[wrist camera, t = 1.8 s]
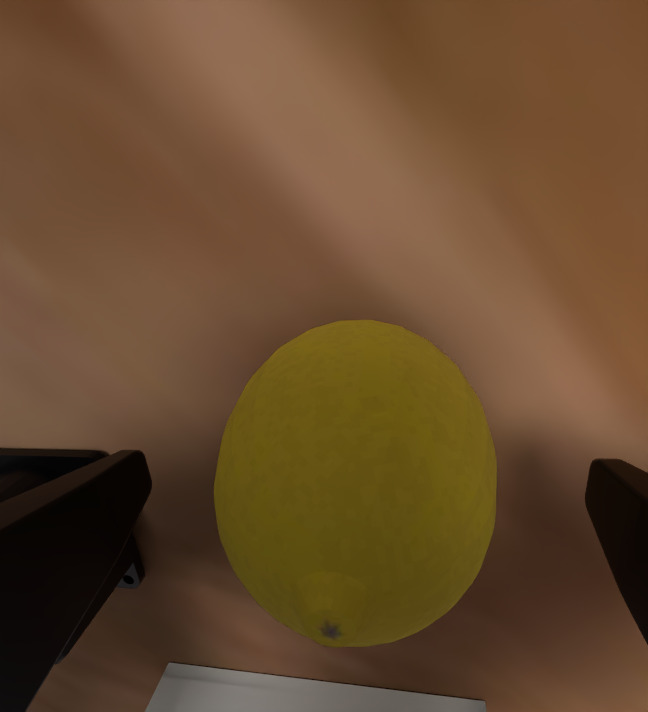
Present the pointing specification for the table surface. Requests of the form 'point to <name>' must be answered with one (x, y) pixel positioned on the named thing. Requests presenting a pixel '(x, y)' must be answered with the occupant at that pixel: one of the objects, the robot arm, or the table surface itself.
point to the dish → (285, 694)
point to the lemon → (356, 484)
